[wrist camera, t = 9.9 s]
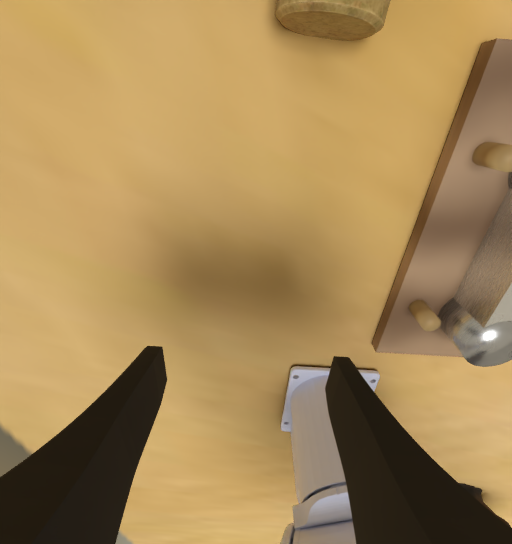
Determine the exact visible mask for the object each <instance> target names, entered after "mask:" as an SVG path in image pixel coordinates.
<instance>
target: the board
mask: <svg viewBox="0 0 512 544" xmlns="http://www.w3.org/2000/svg"><path fill="white" fill-rule="evenodd" d="M509 172H512V40H509V39H494V40H491V41H487V42H484V43H482V45H481V48H480V50H479V53H478V56H477V59H476V61H475V64H474V67H473V69H472V72H471V75H470V78H469V80H468V83H467V86H466V88H465V91H464V94H463V97H462V99H461V102H460V105H459V108H458V110H457V113H456V116H455V118H454V121H453V124H452V127H451V129H450V132H449V135H448V137H447V140H446V143H445V146H444V148H443V151H442V154H441V156H440V159H439V162H438V165H437V167H436V170H435V173H434V176H433V178H432V181H431V184H430V186H429V189H428V192H427V195H426V197H425V200H424V203H423V205H422V208H421V211H420V214H419V216H418V219H417V222H416V224H415V227H414V230H413V233H412V235H411V238H410V241H409V244H408V246H407V249H406V252H405V254H404V257H403V260H402V263H401V265H400V268H399V271H398V273H397V276H396V279H395V282H394V284H393V287H392V290H391V293H390V295H389V298H388V301H387V303H386V306H385V309H384V312H383V314H382V317H381V320H380V322H379V325H378V328H377V331H376V333H375V336H374V339H373V341H372V345H373V347H374V349H375V351H376V352H381V353H399V354H417V355H434V356H452V357H463V355H462V354H461V353H460V352H459V350H458V349H457V348H456V347H455V346H454V344H453V343H452V342H451V341H450V339H449V338H448V337H447V336H446V335H445V333H444V332H443V331H442V330H441V328H440V327H439V326H440V325H441V320H440V319H439V318H438V317H437V316H438V313H439V311H440V310H441V308H442V307H443V306H444V305H445V304H446V303H447V302H448V301H449V300H451V299H452V298H453V297H454V295H455V293H456V291H457V289H458V287H459V285H460V283H461V281H462V279H463V278H464V276H465V274H466V272H467V270H468V268H469V266H470V264H471V262H472V260H473V258H474V256H475V254H476V252H477V250H478V248H479V246H480V244H481V242H482V240H483V238H484V236H485V234H486V232H487V230H488V229H489V227H490V225H491V223H492V221H493V219H494V217H495V215H496V213H497V211H498V209H499V207H500V205H501V203H502V201H503V199H504V197H505V195H506V193H507V191H508V189H509V186H508V175H509Z"/></svg>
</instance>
